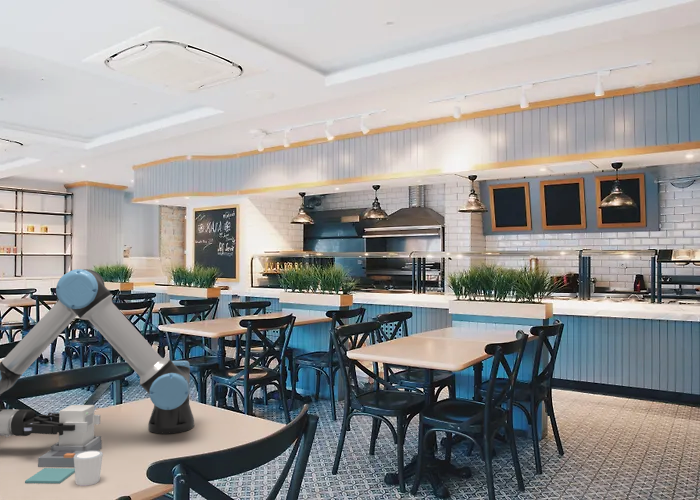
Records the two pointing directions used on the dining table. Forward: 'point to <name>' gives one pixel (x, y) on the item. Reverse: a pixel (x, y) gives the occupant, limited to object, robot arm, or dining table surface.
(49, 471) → the mat
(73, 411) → the block
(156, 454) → the dining table surface
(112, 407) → the dining table surface
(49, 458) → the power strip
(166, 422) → the robot arm
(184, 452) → the dining table surface
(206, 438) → the dining table surface
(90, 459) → the white cup
